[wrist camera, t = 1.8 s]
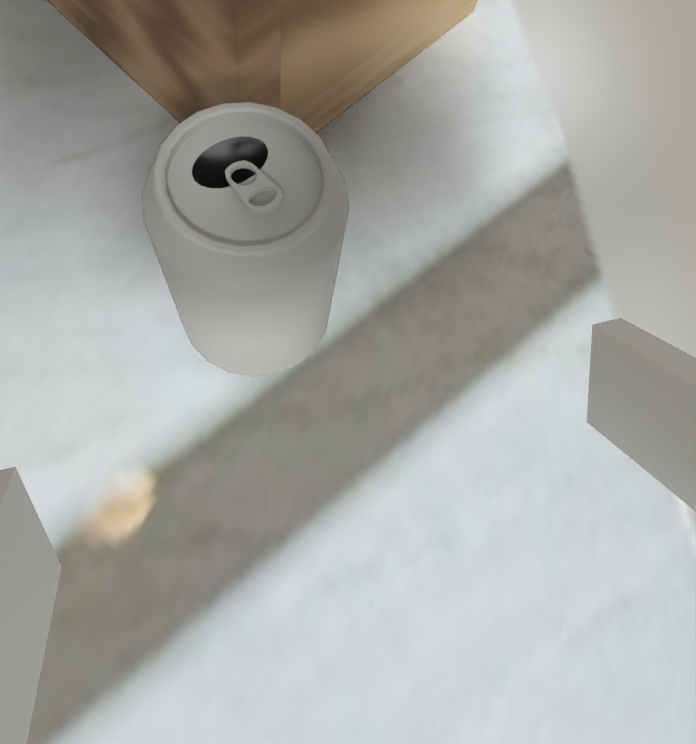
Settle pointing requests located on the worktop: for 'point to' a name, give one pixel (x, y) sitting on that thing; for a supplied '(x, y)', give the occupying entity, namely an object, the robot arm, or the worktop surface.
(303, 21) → the wooden l-shaped piece
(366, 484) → the worktop surface
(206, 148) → the can
